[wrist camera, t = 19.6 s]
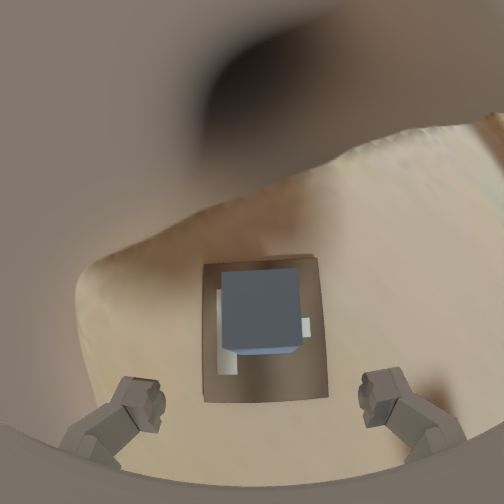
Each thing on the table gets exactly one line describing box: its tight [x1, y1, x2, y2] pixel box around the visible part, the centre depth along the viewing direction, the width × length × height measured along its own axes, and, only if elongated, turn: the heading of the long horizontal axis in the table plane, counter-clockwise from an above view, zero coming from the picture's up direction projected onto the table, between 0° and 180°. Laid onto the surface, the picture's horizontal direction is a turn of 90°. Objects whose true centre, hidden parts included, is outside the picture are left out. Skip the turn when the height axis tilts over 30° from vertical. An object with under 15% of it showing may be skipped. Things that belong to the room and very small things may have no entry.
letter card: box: [203, 258, 329, 403], centre depth 23 cm, size 10×12×1 cm
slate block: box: [222, 268, 303, 355], centre depth 18 cm, size 4×4×9 cm
